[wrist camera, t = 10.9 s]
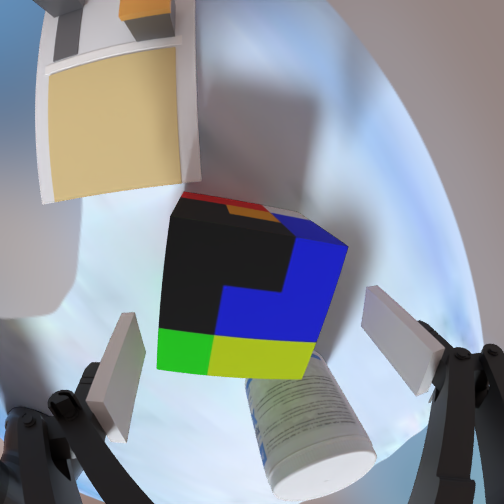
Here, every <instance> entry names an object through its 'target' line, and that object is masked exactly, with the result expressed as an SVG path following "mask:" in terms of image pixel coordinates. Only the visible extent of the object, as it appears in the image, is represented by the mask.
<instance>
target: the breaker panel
mask: <svg viewBox="0 0 504 504" xmlns="http://www.w3.org/2000/svg"><path fill="white" fill-rule="evenodd" d="M119 5H120V0H85V5H84V8H81V9H77V10H74V11H71V12H69V13H66V14H63V15H60V16H58V17H55V18H54V17H53V16H51V15H50V14H49V13H48V12H47V11H45V17H44V21H43V27H42V33H41V40H40V47H39V55H38V65H37V78H36V100H35V101H36V102H35V126H36V127H35V129H36V150H37V165H38V175H39V184H40V192H41V199H42V204H48V203H53V202H59V201H64V200H70V199H75V198H80V197H87V196H92V195H99V194H105V193H111V192H118V191H125V190H132V189H139V188H147V187H155V186H163V185H172V184H181V183H189V182H199V181H201V180H202V177H201V163H200V147H199V130H198V110H197V85H196V45H195V0H175V6H176V13H175V37H166V38H159V39H152V40H146V41H140V42H136V40H135V38H134V37H133V35H132V34H131V32H130V30H129V29H128V27H127V26H126V24H125V22H124V21H121V20H120V18H119V17H118V15H119Z"/></svg>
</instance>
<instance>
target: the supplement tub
mask: <svg viewBox="0 0 504 504" xmlns="http://www.w3.org/2000/svg"><path fill="white" fill-rule="evenodd" d="M245 390H246V394H247V399H248V403H249V408H250V412H251V417H252V421H253V425H254V429H255V434H256V438H257V442H258V446H259V450H260V454H261V458H262V462H263V466H264V470H265V473H266V477H267V479H268V483H269V485H270V486H271V489H272V492H273V494H274V496H275V497H277V498H278V499H281V500H285V501H304V500H310V499H315V498H319V497H322V496H325V495H329V494H331V493H334V492H336V491H339V490H341V489H343V488H345V487H347V486H349V485H351V484H352V483H354V482H356V481H357V480H358V479H360V478H361V477H363V475H365V474H366V473H367V472H368V471H369V470H370V469H371V468H372V467H373V465H374V464H375V462H376V458H377V455H376V453H375V451H374V449H373V447H372V442H371V441H370V439H369V437H368V435H367V433H366V431H365V430H364V428H363V426H362V425H361V423H360V421H359V419H358V418H357V416H356V414H355V412H354V411H353V409H352V407H351V406H350V404H349V402H348V400H347V399H346V397H345V395H344V393H343V392H342V390H341V388H340V387H339V385H338V383H337V381H336V380H335V378H334V376H333V375H332V373H331V371H330V370H329V368H328V366H327V364H326V363H325V361H324V359H323V358H322V356H321V355H320V354H318V353H317V352H316V351H314V350H313V352H312V355H311V358H310V360H309V363H308V365H307V368H306V370H305V373H304V375H303V377H302V380H291V379H253V378H246V379H245Z"/></svg>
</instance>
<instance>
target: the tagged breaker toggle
mask: <svg viewBox="0 0 504 504" xmlns="http://www.w3.org/2000/svg"><path fill="white" fill-rule="evenodd" d="M175 13H176V6H175V0H120V5H119V15H118V17H119V18H120V20H121V21H124V22H125V24H126V26H127V27H128V29H129V30H130V32H131V34H132V35H133V37H134V38H135V40H136V42H140V41H146V40H152V39H159V38H166V37H175Z"/></svg>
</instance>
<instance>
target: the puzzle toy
mask: <svg viewBox="0 0 504 504" xmlns="http://www.w3.org/2000/svg"><path fill="white" fill-rule="evenodd" d="M347 250H348V246H347V245H346V244H344V243H343V242H341V241H340V240H339V239H337V238H336V237H334V236H333V235H331V234H330V233H328V232H327V231H325V230H324V229H322V228H321V227H320V226H318V225H317V224H315V223H314V222H312V221H311V220H309V219H308V218H306V217H305V216H303V215H302V214H300V213H299V212H295V211H290V210H285V209H280V208H275V207H270V206H265V205H259V204H254V203H248V202H243V201H237V200H232V199H226V198H220V197H214V196H209V195H202V194H196V193H190V192H183V194H182V196H181V197H180V199H179V201H178V203H177V205H176V207H175V208H174V210H173V212H172V214H171V216H170V222H169V229H168V237H167V245H166V253H165V261H164V271H163V280H162V291H161V302H160V315H159V330H158V347H157V369H159V370H166V371H173V372H181V373H190V374H199V375H209V376H221V377H235V378H253V379H291V380H302V377H303V375H304V373H305V370H306V368H307V365H308V363H309V360H310V358H311V355H312V352H313V350H314V347H315V345H316V342H317V339H318V337H319V334H320V331H321V328H322V326H323V323H324V320H325V317H326V315H327V312H328V309H329V306H330V303H331V300H332V297H333V294H334V291H335V288H336V285H337V282H338V279H339V276H340V273H341V269H342V266H343V263H344V260H345V256H346V253H347Z"/></svg>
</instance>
